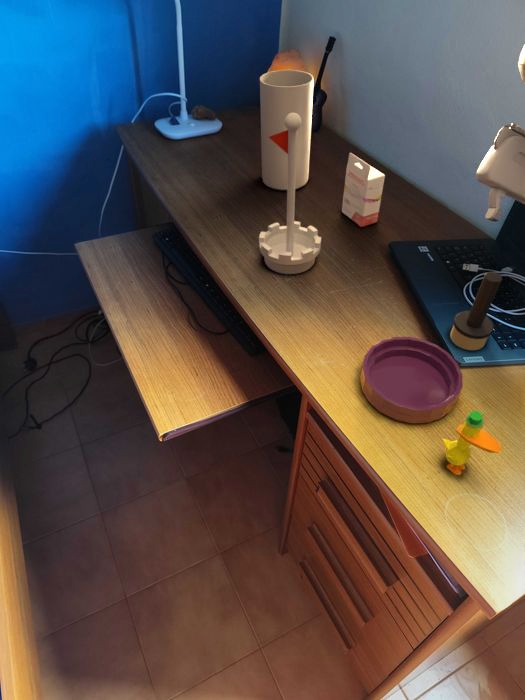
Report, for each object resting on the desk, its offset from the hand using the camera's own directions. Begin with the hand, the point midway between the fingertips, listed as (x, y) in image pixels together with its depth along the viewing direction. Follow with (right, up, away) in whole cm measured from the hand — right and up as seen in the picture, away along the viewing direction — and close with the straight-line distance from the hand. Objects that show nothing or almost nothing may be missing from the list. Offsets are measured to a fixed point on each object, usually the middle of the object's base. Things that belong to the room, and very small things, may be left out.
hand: (513, 230), depth 77 cm
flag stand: (-36, 0, +25) cm, 43 cm away
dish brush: (-5, -18, +7) cm, 19 cm away
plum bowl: (-18, -26, -1) cm, 31 cm away
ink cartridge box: (-18, +12, +36) cm, 42 cm away
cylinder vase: (-35, +26, +49) cm, 66 cm away
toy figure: (-14, -37, -11) cm, 41 cm away
